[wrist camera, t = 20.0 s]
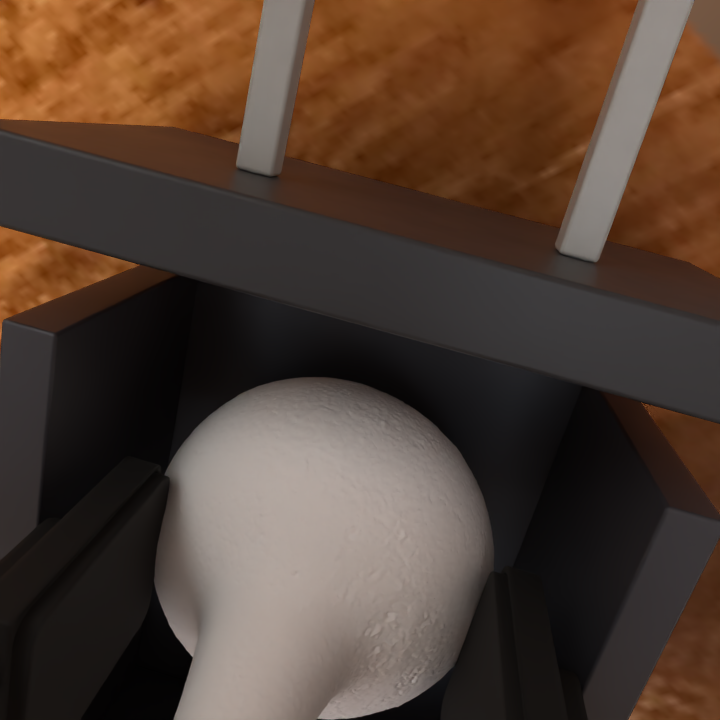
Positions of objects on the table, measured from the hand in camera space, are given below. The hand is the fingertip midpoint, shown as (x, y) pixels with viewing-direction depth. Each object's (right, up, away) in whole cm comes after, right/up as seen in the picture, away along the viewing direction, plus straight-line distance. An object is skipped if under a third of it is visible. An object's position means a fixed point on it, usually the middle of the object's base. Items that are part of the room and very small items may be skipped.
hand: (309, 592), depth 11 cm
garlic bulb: (0, +1, +3) cm, 3 cm away
